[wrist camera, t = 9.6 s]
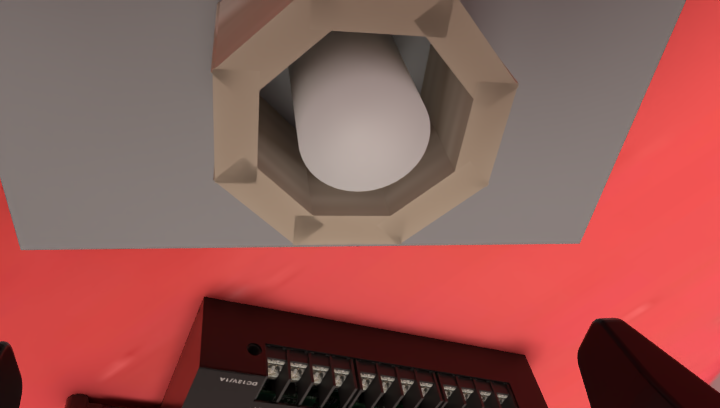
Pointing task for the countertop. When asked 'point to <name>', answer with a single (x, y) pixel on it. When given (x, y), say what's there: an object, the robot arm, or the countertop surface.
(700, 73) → the countertop surface
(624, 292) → the countertop surface
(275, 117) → the ring
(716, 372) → the countertop surface
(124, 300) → the countertop surface
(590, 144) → the post board
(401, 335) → the wireless controller
